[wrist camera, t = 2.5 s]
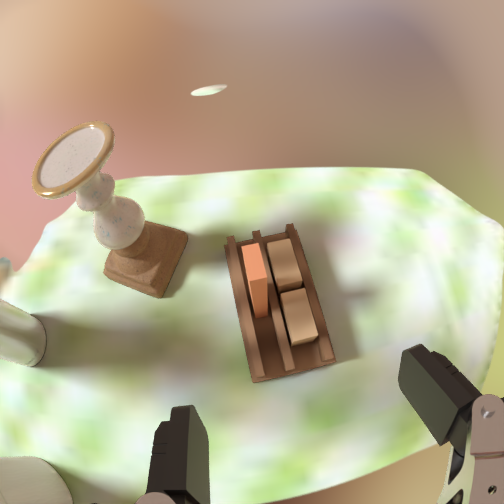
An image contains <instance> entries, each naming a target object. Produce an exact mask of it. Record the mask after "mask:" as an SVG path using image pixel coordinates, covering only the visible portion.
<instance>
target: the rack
mask: <svg viewBox="0 0 504 504" xmlns="http://www.w3.org/2000/svg"><path fill="white" fill-rule="evenodd" d="M252 233H253V239H251V240H246V241H242V242H237V243H235V239H234V236H230V237H227V241H228V245H224V247H225V253H226V258H227V263H228V268H229V273H230V278H231V283H232V288H233V293H234V298H235V303H236V308H237V313H238V317H239V322H240V327H241V332H242V336H243V341H244V346H245V350H246V355H247V360H248V364H249V369H250V373H251V378H252V382H253V383H255V382H260V381H265V380H269V379H274V378H278V377H282V376H286V375H290V374H294V373H298V372H302V371H306V370H310V369H313V368H317V367H320V366H324V365H327V364H331V363H334V362H336V359H335V356H334V352H333V348H332V345H331V341H330V338H329V334H328V331H327V327H326V324H325V320H324V317H323V313H322V310H321V306H320V303H319V300H318V296H317V293H316V290H315V287H314V283H313V280H312V277H311V274H310V270H309V267H308V264H307V261H306V258H305V255H304V252H303V249H302V245H301V242H300V239H299V236H298V233H297V230H295V228H294V225H293V223H292V224H287V225H286V231H285V232H284V233H279V234H275V235H270V236H265V237H261V234H260V230H258V231H253V232H252ZM289 238H290V241H291V244H292V247H293V250H294V254H295V257H296V260H297V263H298V267H299V270H300V273H301V277H302V280H303V281H302V284H301V287H300V289H302V288H305V290H306V294H307V297H308V300H309V304H310V307H311V311H312V314H313V318H314V321H315V325H316V329H317V332H318V336H317V337H316V338H315V339H314V340H313V341H312V342H308V343H304V344H300V345H296V346H292V347H290V344H289V340H288V336H287V332H286V328H285V324H284V320H283V316H282V312H281V308H280V297H278V296H277V293H276V289H275V285H274V281H273V277H272V273H271V270H270V266H269V262H268V258H267V243H270V242H275V241H279V240H284V239H289ZM255 243H259V247H260V251H261V255H262V259H263V263H264V266H265V270H266V274H267V299H268V316H266V317H261V318H257V319H256V317H255V313H254V309H253V304H252V300H251V295H250V290H249V285H248V279H247V274H246V268H245V263H244V258H243V252H242V247H241V246H246V245H251V244H255Z"/></svg>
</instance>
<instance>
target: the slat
mask: <svg viewBox="0 0 504 504" xmlns="http://www.w3.org/2000/svg"><path fill="white" fill-rule="evenodd" d="M241 247H242V252H243V258H244V263H245V268H246V274H247V279H248V285H249V290H250V295H251V300H252V304H253V309H254V313H255V317H256V319H257V318H261V317H266V316H268V299H267V274H266V270H265V266H264V263H263V259H262V255H261V251H260V247H259V243H255V244H251V245H246V246H241Z"/></svg>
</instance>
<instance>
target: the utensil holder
mask: <svg viewBox="0 0 504 504" xmlns="http://www.w3.org/2000/svg"><path fill="white" fill-rule="evenodd" d="M0 504H73V500H72V497H71V494H70V492H69V489H68V487H67V486H66V484H65V482H64V481H63V479H62V478H61V476H60V475H59V474H58V473H57V472H56V470H55V469H54V468H53V467H52V466H50V465H49V464H48V463H47V462H45V461H44V460H42V459H40V458H37V457H32V456H23V457H0Z"/></svg>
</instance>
